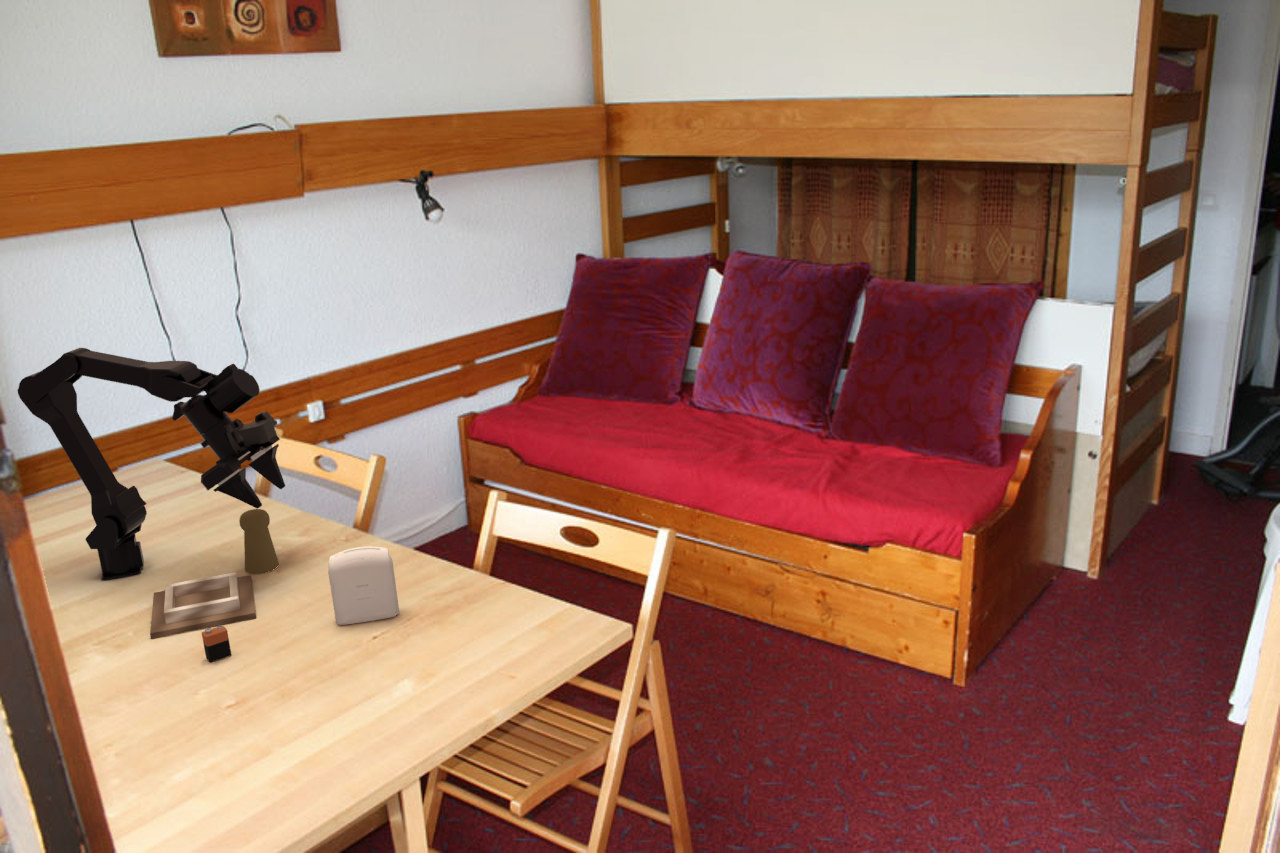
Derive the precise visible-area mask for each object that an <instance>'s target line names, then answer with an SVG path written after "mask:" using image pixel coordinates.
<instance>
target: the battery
mask: <svg viewBox="0 0 1280 853" xmlns="http://www.w3.org/2000/svg"><path fill="white" fill-rule="evenodd" d="M201 637H202V643H203V649H204V655H205V658H206V660H207V661H208V662H209V663H213V662H216V661H219V660H223V659H225V658H228V657H231V656H232V651H231V645H230V639H229V638H230V637H229V633H228V629H227V628H226V627H225V626H224V625H219V626H215V627H209V628H205V629H204V630H203V631H201Z"/></svg>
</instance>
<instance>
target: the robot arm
mask: <svg viewBox="0 0 1280 853" xmlns="http://www.w3.org/2000/svg"><path fill="white" fill-rule="evenodd" d="M82 377H87V378H93V379H98V380H102V381H103V380H104V381H108V382H113V383H118V384H123V385H127V386H133V387H134V386H135V387H138V388H141V389H143V390H145V391H147V393H148V394H150V395H151V396H154V397H156V398H159V399H161V400H165V401H167V402H172V403H173V402H177V403H175V404H173V414H172V421H178V420H179V419H181V418H183V417H185V418H186V420H187V421H188V422H189V423H190V425H191V426H192V427H193V428H194V429H195V431H196V432H197V433H198V434H199V436H200V437H201V438H202V439H203V441H201V442H200V445H201V446H202V448H203V449H205V448H206V447H209V448H210V449H211V450H212V452H213V453H214V454H215V455H216V457H217V458H218V460H217V461H215V465H214V466H212V467H211V468H209V469H208V470H207V471H205V472H204V473H202V474H201V475H200V483H201V485H202V486H203V487H204V488H205V489H206V491H210V490H211V489H212V488H214V487H215V488H214V489H213V492H215V493H217V492H219V493H222V494H225V495H227V496H229V497H231V498H234V499H236V500H238V501H241V502H242V503H245V504H247V505H249V506H251V507H253V508H254V509H260V508H261V507H262V506H263V503H262V501H261V500H260V497H259V496H258V495H257V493H256V492H255V491H254V489H253V488H252V486H251V485H250V483H249V481H248V480H247V478H246V475H247V473H246V472H247V470H246V469H247V467H244V468H242V464H243V463H245V462H246V461H248V462H249V463H248V466H249V467H250V468H252V470H254V471H256V472H257V473H258V474H259V475H260V476H262V477H263V478H264V479H266V480H267V481H268V482H269V483H270V484H272V485H273V486H275V487H276V488H278V489H279V490H282V489H284V488H285V487H286V484H285V481H284V478H283V475H282V473H281V470H280V467H279V464H278V461H277V458H276V455H277V452H278V448H279V443H277V442H279V441H281V438H280V437H279V436H278V434H277V430H276V428H275V427H276V426H277V425H278V421H277V420H275V419H274V417H273V416H272V415H271V414H270V413H269V412H268V411H263V412H259V413H258V414H256V415H255V417H254V421H253V420H252V421H251V422H249V423H244V422H243V421H242V420H241V419H238V418H235V419H232V418H231V417H230V415H229V414H233V413H235V412H237V411H239V409H241V408H242V407H243V406H245V405H246V404H248V403H249V402H251V401H252V400H254V398H256V397H258V396H259V394H260V385H259V383H258V382H257V380H256V378H255V377H254V376H253V375H251V374H250V373H249V372H248V371H246V370H244V369H242V368H239V367H238V366H237V365H236V364H235V363H231V364H229V365H227V366H226V367H224V368H223V369H222V371H221V372H220V373H218V374H215V373H212V372H209V371H207V370H204V369H201V368H198V365H197V364H195V363H194V362H191V361H188V360H163V361H147V360H140V359H135V358H131V357H126V356H120V355H115V354H110V353H106V352H105V353H104V352H100V351H95V350H90V349H88V348H86V347H78V348H76V349H72V350H70V351H67V352H65V353H63V354H62V355H61V356H60V357H59V358H58V359H56V360H55V361H54V362H53V363H51V364H50V365H48V366H47V367H45V368H43V369H42V370H40V371H38V372H36V373H33V374H30V375H27V376H25V377H24V378H21V381H20V382H19V384H18V388H17V391H16V392H17V394H18V397H19V399H20V401H21V402H22V403H23V404H24V405H25V407H26V408H27V409H28V411H29V412H30V413H31V415H33V416H35V417H36V418H38V419H39V420H41V421H43V423H45V424H47V425H48V426H49V427H50V429H51V430H52V432H53V434H54V436H55V437H56V439H57V441H58V442H59V443H60V446H61V447H62V449H63V450H64V452H65V454H66V456H67V458H68V459H69V461H70V462H71V464H72V466H73V467H74V469H75V471H76V473H77V474H78V476H79V477H80V479H81V481H82V483H83V484H84V486H85V488H86V489H87V491H88V493H89V494H90V500H91V501H90V502H91V503H90V505H91V506H90V507H91V516H92V518H93V520H94V523H95V527H94V528H93V529H92V530H91V531H90V532H89V533H88V535H87V537H85V542H86V543H87V545H88V547H89V548H90V550H97V554H98V555H97V556H98V558H99V559H98V560H99V564H100V568H101V576H100V578H101V580H102V581H106V580H111V579H117V578H123V577H129V576H134V575H139V574H141V573H142V567H143V566H144V564H145V561H144V560H145V559H144V555H143V549H142V544H141V541H140V540H138V541H137V538H136V534H137V533H139V532H141V531H142V530H141V528H142V524H144V522H145V521H146V517H147V515H148V513H147V508H146V507H145V506H146V505H147V502H146V501H145V500H143V498H142V496H141V495H140V493H139V490H138V487H136V486H135V485H131V486H130V487H126V486H125V485H123V484H122V483H120V482H119V480H118V479H117V478H116V476H115V475H114V473H113V471H112V469H111V467H110V466H109V464H108V462H107V461H106V459H105V457H104V455H103V454H102V452H101V450H100V449H99V447H98V445H97V444H96V441H95V440H94V439H93V437H92V435H91V433H90V431H89V430H88V428H87V426H86V424H85V423H84V421H83V419H82V418H81V416H80V415H79V414H80V413H79V412H78V393H77V391H76V390H75V386H74V384H76V382H77V381H79V380H80V379H81V378H82ZM204 392H205V394H204V395H201V393H204ZM184 398H189V399H188V400H187V401H186V402H184V401H181V400H182V399H184ZM178 401H179V402H178ZM276 443H277V444H276ZM250 461H251V462H250ZM241 468H242V469H241ZM216 486H217V487H216Z"/></svg>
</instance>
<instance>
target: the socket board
mask: <svg viewBox="0 0 1280 853" xmlns="http://www.w3.org/2000/svg"><path fill="white" fill-rule="evenodd" d="M255 603H256V602H255V596H254V588H253V578H252V574H249V575H247V574H246V575H242V576H238V575H237V572H236V571H235V572H230V573H224V574H219V575H213V576H208V577H202V578H197V579H190V580H185V581H180V582H174V583H169V584H165V590H160V591H156V592H153V596H152V607H151V620H150V628H149V631H150V632H149V635H150V639H151V640H154V639H157V638H159V639H160V638H163V637H164V638H165V637H167V636H173V635H178V634H183V633H189V632H194V631H198V630H203V629H204V630H205V629H207V628H215V627H217V626H219V625H222V626H224V625H228V624H235V623H239V622H244V621H249V620H253V619H257V615H256V613H257V612H256V604H255Z"/></svg>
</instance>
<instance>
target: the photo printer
mask: <svg viewBox="0 0 1280 853" xmlns="http://www.w3.org/2000/svg"><path fill="white" fill-rule="evenodd" d="M327 567H328V579H329V585H330V592H331V598H332V605H333V610H334V619H335V623H336V624H337V623H338V624H339V625H338V624H337V625H338V626H344V625H352V624H358V623H365V622H373V621H377V620H384V619H390V618H395V617H397V616H398V615H399V613H400V606H399V599H398V597H399V596H398V591H397V583H396V577H395V569H394V567H395V566H394V560H393V557H392V555H391V554H390V552H389V548H387V547H384V546H383V547H382V546H381V547H380V546H358V547H352V548H349V549H345V550H342V551H339V552H336V553H334V554H332V555H331V556H329V562H328V566H327ZM397 614H398V615H397ZM396 615H397V616H396Z"/></svg>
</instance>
